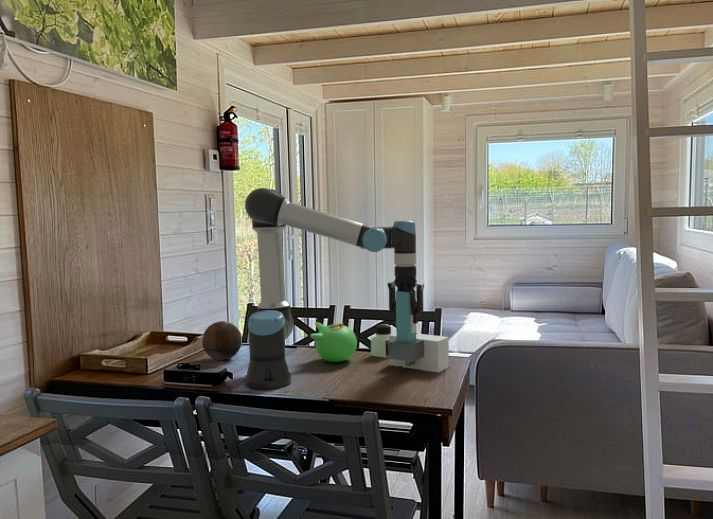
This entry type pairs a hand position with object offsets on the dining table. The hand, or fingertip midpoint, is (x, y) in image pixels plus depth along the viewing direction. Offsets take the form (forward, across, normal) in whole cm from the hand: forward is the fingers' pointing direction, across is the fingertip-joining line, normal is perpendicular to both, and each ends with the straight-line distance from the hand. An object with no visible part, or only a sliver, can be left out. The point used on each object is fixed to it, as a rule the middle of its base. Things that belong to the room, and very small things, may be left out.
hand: (406, 331), depth 204 cm
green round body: (+14, +31, +1) cm, 34 cm away
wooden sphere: (+14, +70, +22) cm, 75 cm away
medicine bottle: (+14, +20, -16) cm, 29 cm away
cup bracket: (+12, 0, 0) cm, 12 cm away
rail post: (+6, 0, 0) cm, 6 cm away
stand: (+14, 0, -8) cm, 17 cm away
